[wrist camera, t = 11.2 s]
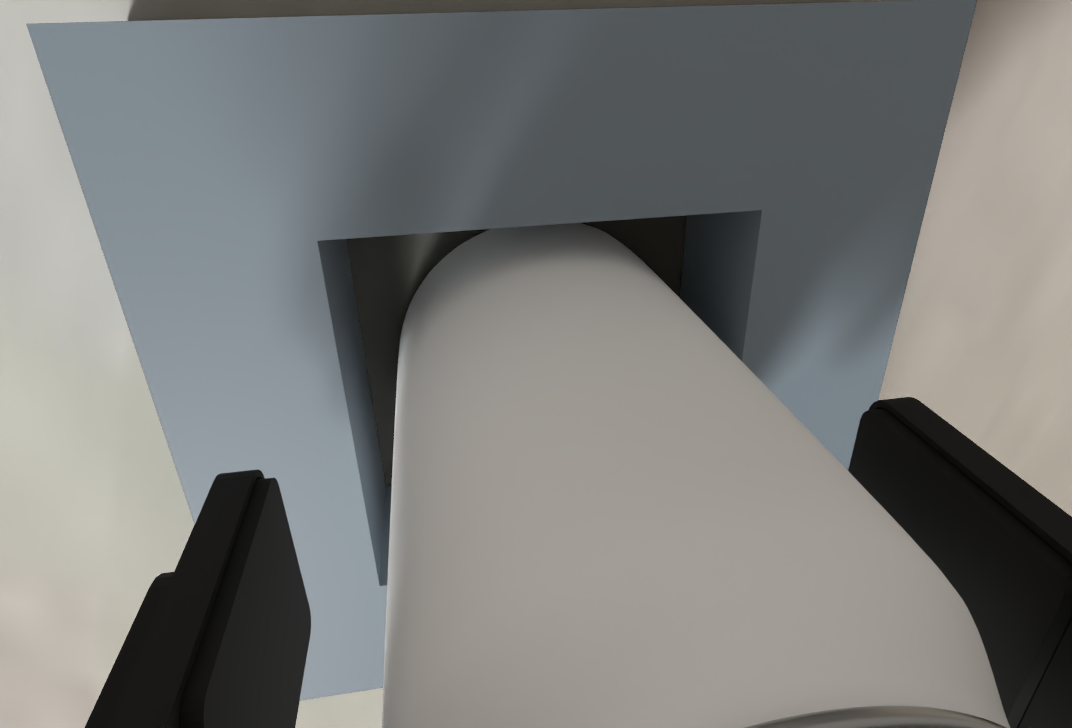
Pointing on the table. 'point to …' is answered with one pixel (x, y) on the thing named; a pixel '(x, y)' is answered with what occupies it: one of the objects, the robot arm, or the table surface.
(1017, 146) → the table surface
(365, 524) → the socket block
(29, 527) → the table surface
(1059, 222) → the table surface
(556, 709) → the can
